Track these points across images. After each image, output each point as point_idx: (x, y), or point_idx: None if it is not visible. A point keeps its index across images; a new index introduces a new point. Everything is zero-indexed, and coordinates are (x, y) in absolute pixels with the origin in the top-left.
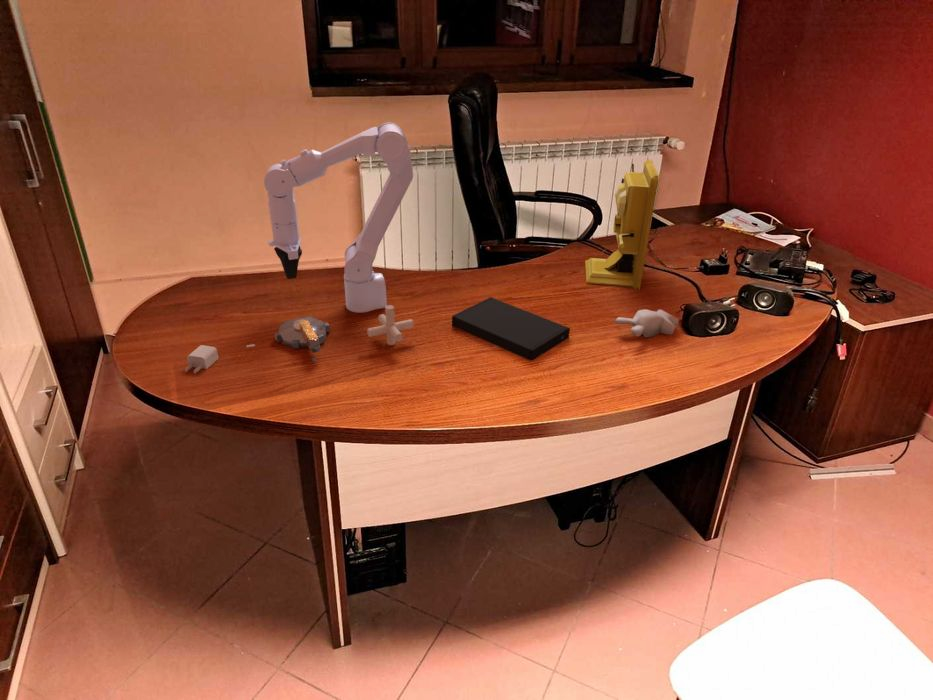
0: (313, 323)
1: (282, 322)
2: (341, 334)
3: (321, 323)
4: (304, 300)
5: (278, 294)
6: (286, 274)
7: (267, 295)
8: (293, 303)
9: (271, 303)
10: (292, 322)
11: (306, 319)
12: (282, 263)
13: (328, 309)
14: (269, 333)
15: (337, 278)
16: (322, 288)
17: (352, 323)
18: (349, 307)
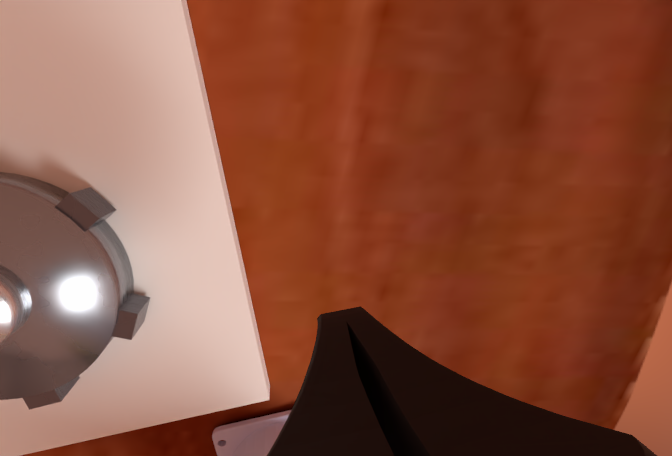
0: (40, 348)
1: (76, 199)
2: None
3: (36, 382)
4: (424, 274)
5: (513, 175)
6: (317, 337)
7: (521, 128)
8: (411, 233)
9: (440, 142)
10: (59, 252)
11: (91, 318)
12: (285, 427)
13: None
14: None
15: (557, 381)
16: (501, 336)
17: (185, 432)
18: (252, 453)
